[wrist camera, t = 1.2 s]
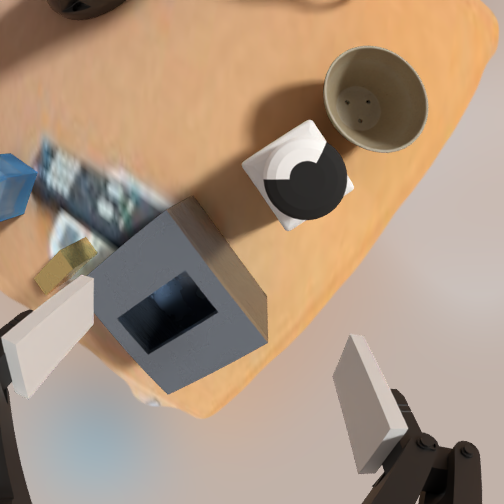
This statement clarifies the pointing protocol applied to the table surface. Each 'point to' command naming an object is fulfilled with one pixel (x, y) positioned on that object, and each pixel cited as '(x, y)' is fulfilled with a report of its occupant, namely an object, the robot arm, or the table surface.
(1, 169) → the perfume bottle
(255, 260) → the table surface
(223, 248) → the coin box
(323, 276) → the table surface
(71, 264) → the block
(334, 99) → the flower pot
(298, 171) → the medicine bottle
